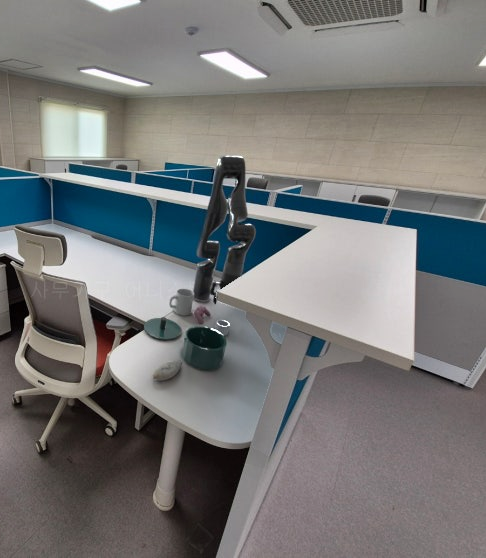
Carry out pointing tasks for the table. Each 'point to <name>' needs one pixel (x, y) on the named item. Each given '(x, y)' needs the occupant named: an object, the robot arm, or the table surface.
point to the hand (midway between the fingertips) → (225, 305)
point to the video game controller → (201, 313)
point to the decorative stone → (167, 370)
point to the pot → (204, 347)
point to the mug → (182, 302)
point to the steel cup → (222, 326)
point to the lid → (162, 328)
